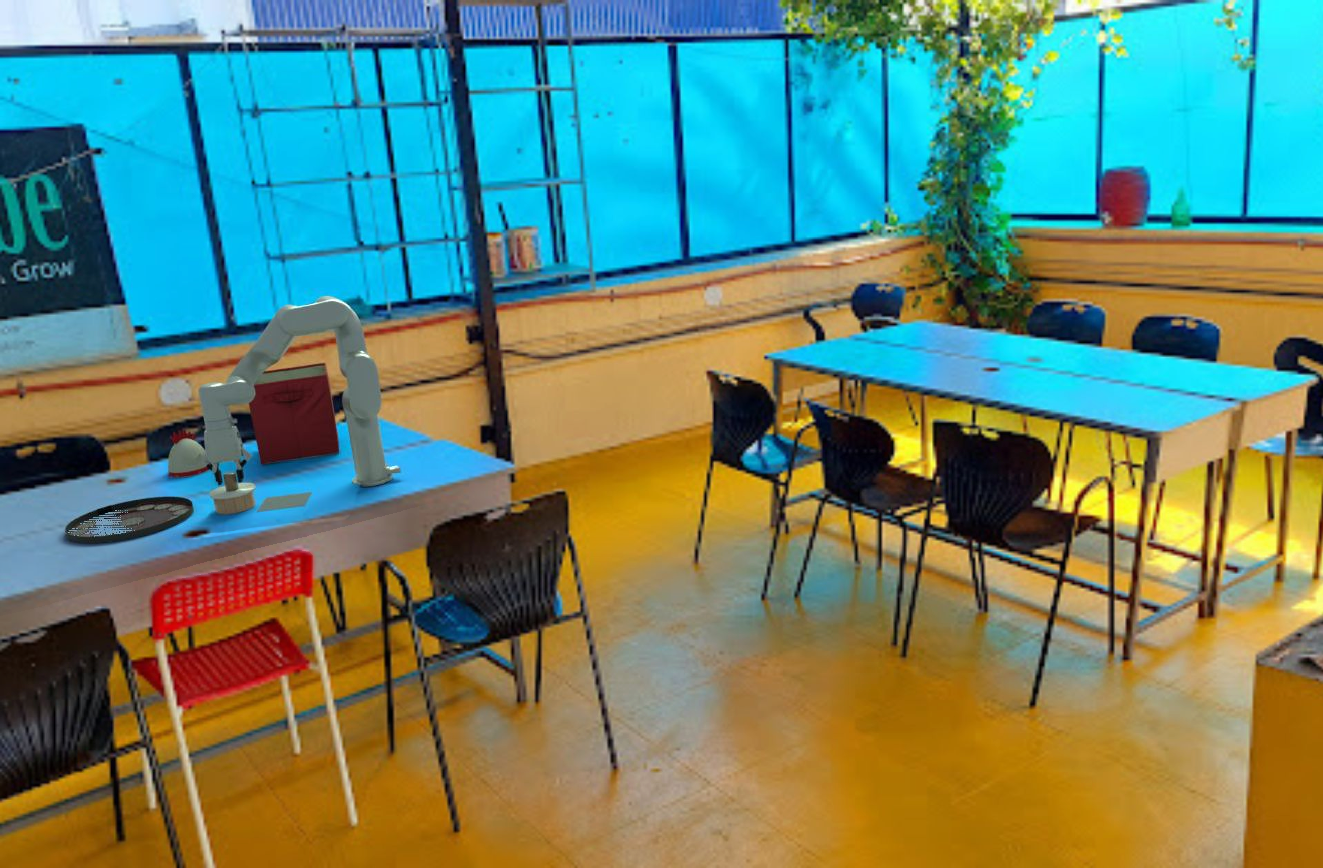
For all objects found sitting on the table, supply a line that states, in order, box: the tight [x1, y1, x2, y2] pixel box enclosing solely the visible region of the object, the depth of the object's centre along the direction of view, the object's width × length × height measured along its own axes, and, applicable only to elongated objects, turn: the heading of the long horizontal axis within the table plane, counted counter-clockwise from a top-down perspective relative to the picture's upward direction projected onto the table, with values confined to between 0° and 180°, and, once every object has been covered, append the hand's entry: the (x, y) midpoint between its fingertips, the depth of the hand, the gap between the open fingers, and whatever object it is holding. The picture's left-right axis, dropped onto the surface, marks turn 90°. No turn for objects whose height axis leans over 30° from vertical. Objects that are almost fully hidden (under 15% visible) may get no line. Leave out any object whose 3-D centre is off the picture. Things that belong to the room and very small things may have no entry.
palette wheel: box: [64, 496, 195, 544], centre depth 331 cm, size 35×35×3 cm
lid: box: [209, 471, 257, 499], centre depth 330 cm, size 13×13×6 cm
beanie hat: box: [167, 429, 211, 478], centre depth 381 cm, size 14×14×15 cm
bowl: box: [212, 491, 256, 515], centre depth 332 cm, size 11×11×6 cm
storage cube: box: [248, 362, 340, 466], centre depth 392 cm, size 32×28×29 cm
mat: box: [256, 491, 313, 513], centre depth 334 cm, size 14×14×1 cm
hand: (230, 482), depth 330 cm, fingers open, 5 cm apart
